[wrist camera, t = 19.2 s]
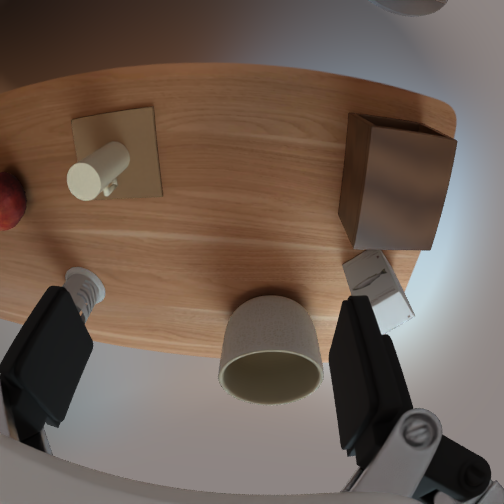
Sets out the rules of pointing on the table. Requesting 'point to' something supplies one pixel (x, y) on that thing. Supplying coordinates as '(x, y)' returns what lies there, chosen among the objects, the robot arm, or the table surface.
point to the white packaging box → (378, 288)
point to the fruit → (11, 201)
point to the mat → (134, 139)
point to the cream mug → (98, 171)
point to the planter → (270, 352)
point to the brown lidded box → (394, 182)
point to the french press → (84, 289)
